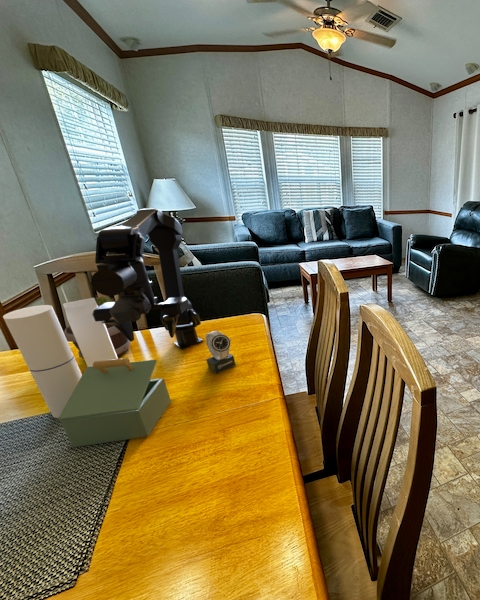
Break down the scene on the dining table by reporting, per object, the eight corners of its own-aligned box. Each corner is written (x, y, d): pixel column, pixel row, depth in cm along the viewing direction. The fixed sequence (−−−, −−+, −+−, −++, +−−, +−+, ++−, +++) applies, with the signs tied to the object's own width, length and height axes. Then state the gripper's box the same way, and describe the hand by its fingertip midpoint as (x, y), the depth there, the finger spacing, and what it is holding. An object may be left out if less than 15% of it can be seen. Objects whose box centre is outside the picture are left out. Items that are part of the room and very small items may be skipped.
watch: (219, 376, 89) (210, 341, 85) (205, 366, 94) (196, 332, 89) (239, 367, 93) (231, 332, 89) (225, 358, 98) (217, 325, 94)
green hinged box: (107, 409, 77) (97, 385, 74) (171, 401, 80) (163, 377, 77) (72, 447, 66) (59, 421, 64) (148, 436, 69) (138, 410, 67)
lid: (88, 368, 72) (76, 357, 69) (157, 361, 75) (148, 349, 72) (60, 420, 64) (45, 410, 61) (138, 410, 67) (128, 399, 64)
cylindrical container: (68, 419, 74) (20, 320, 65) (43, 415, 75) (-7, 317, 66) (100, 399, 80) (61, 306, 71) (77, 396, 82) (36, 304, 72)
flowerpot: (63, 372, 92) (33, 306, 84) (94, 345, 105) (70, 287, 98) (124, 363, 95) (101, 300, 88) (146, 339, 109) (127, 282, 102)
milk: (122, 374, 90) (95, 300, 82) (93, 383, 87) (61, 307, 78) (120, 365, 95) (94, 294, 86) (93, 373, 91) (62, 300, 83)
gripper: (64, 296, 69) (90, 359, 75) (162, 289, 73) (180, 350, 79) (97, 280, 79) (118, 337, 85) (182, 275, 83) (196, 330, 89)
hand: (152, 338), depth 84 cm, fingers open, 9 cm apart
